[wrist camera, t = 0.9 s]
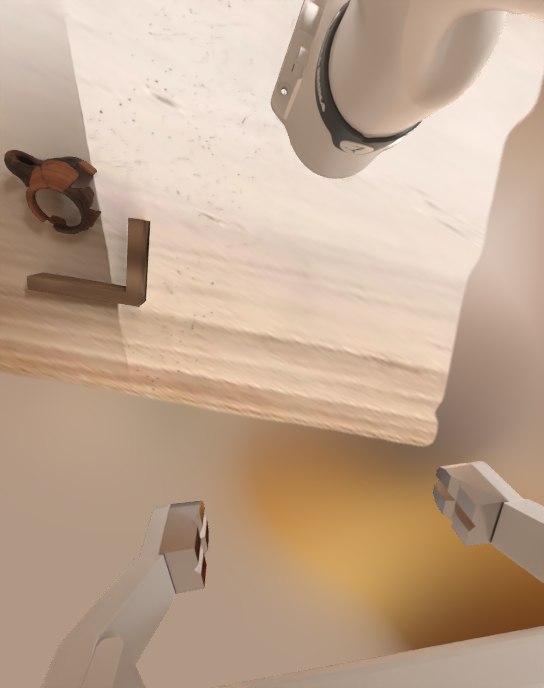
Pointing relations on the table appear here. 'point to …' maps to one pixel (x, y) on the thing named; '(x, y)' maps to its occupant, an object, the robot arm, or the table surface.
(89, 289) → the dock
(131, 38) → the table surface
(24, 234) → the table surface
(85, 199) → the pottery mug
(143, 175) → the table surface
